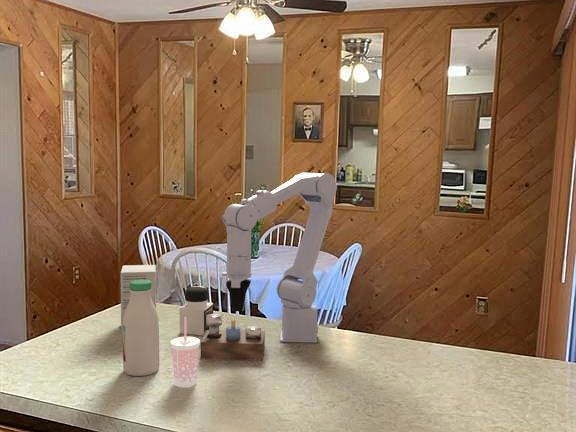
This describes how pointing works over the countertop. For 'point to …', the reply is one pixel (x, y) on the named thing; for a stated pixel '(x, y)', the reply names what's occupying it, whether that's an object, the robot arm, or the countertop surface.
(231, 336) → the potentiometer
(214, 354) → the mount
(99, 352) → the countertop surface
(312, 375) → the countertop surface
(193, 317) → the medicine bottle
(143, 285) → the milk bottle
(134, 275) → the supplement box
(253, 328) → the knob
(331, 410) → the countertop surface
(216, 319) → the knob
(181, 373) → the beverage cup
